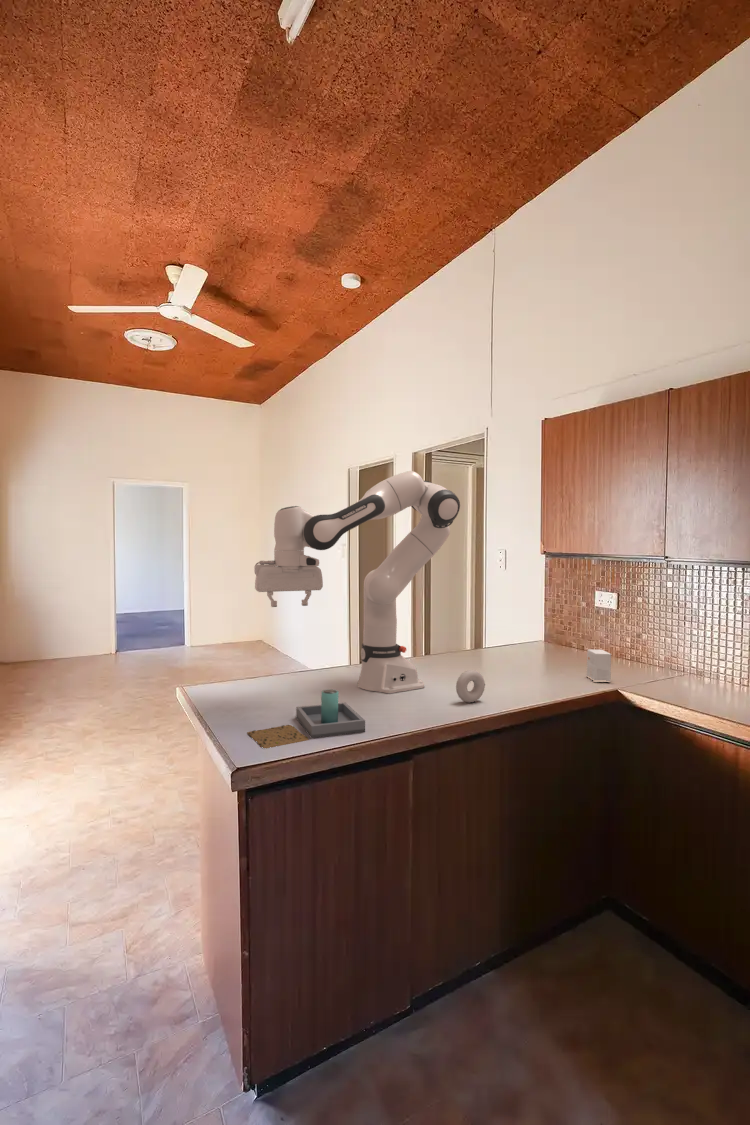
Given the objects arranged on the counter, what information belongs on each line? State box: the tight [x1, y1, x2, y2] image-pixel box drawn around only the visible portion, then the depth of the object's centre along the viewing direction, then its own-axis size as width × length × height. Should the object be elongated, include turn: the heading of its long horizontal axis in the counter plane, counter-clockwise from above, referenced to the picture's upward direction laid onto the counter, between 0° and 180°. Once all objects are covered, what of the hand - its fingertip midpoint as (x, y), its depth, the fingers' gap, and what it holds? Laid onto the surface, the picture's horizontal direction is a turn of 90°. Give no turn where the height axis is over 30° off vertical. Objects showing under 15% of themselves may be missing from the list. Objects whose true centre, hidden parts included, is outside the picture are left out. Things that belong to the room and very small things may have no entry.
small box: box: [586, 648, 612, 682], centre depth 195 cm, size 8×6×10 cm
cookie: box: [246, 724, 310, 749], centre depth 134 cm, size 12×12×1 cm
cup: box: [320, 688, 340, 724], centre depth 143 cm, size 4×4×8 cm
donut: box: [455, 669, 486, 703], centre depth 165 cm, size 10×4×10 cm, turn 116°
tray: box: [295, 701, 366, 739], centre depth 143 cm, size 14×16×3 cm
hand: (289, 606), depth 163 cm, fingers open, 8 cm apart
